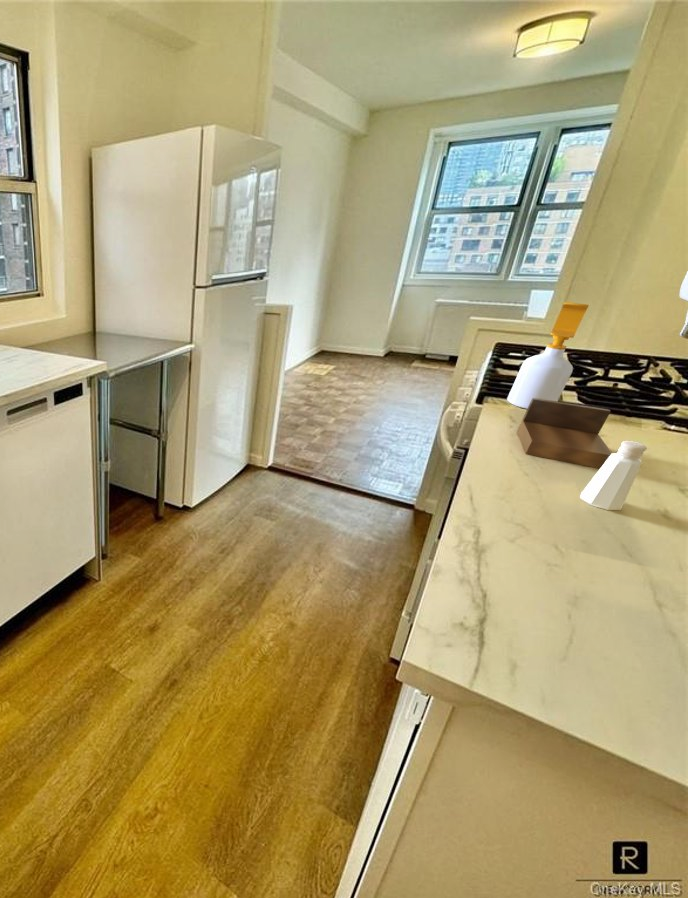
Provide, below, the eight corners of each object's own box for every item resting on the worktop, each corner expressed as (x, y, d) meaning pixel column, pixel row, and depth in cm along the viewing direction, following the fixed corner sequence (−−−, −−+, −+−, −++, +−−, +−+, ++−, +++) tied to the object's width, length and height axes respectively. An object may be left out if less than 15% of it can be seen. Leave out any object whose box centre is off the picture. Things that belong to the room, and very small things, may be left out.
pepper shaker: (629, 514, 78) (667, 455, 73) (585, 506, 80) (620, 447, 75) (613, 497, 82) (649, 440, 77) (573, 490, 84) (605, 434, 79)
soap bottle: (503, 404, 119) (548, 302, 107) (509, 395, 124) (552, 297, 113) (551, 415, 113) (604, 308, 102) (555, 404, 119) (605, 302, 107)
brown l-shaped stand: (589, 444, 100) (609, 409, 96) (606, 469, 91) (628, 431, 87) (516, 431, 105) (532, 397, 101) (525, 453, 96) (543, 417, 92)
